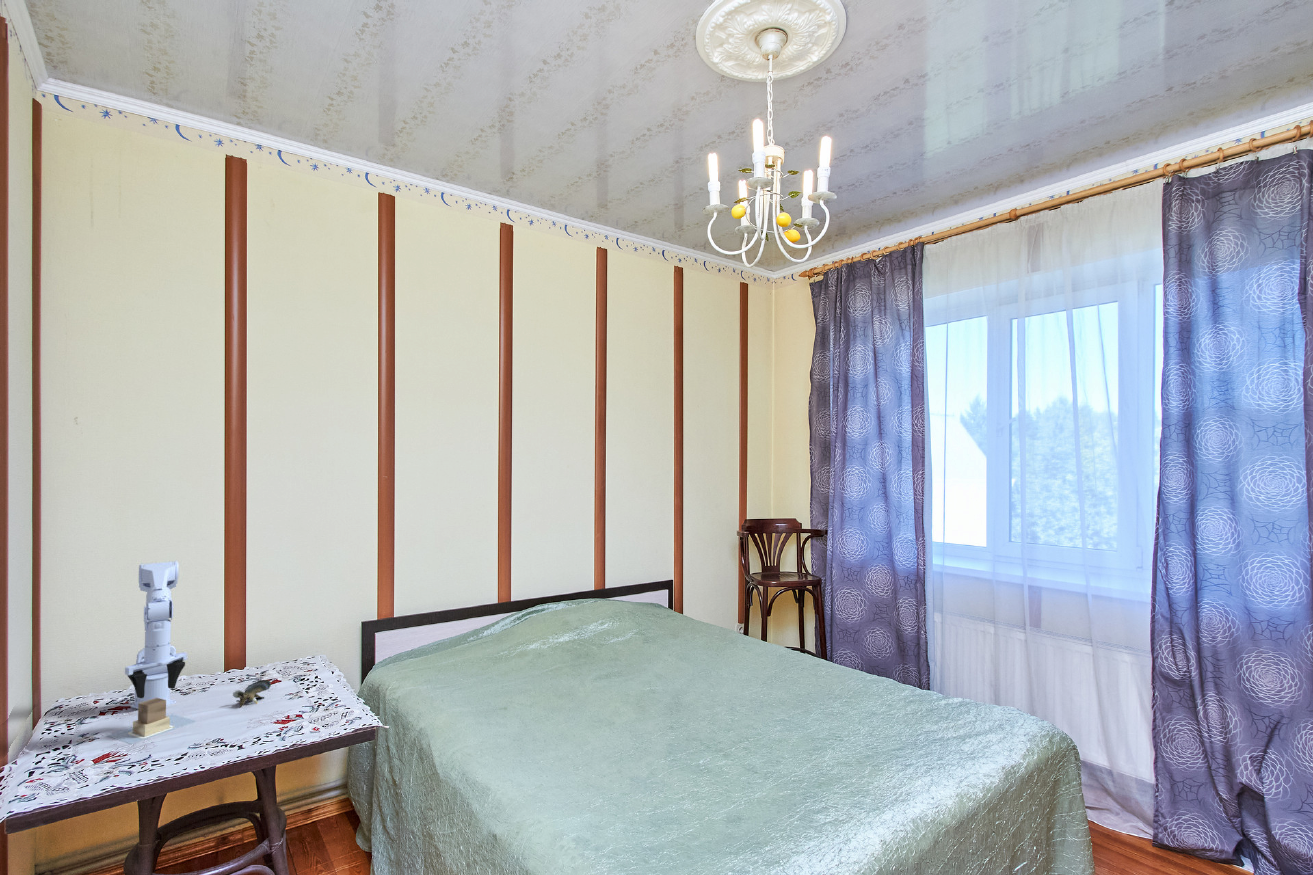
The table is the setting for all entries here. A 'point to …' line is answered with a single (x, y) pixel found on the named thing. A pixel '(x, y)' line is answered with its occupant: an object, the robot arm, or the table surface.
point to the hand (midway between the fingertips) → (156, 692)
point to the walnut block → (151, 710)
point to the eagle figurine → (252, 691)
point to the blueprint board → (134, 738)
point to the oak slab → (151, 727)
